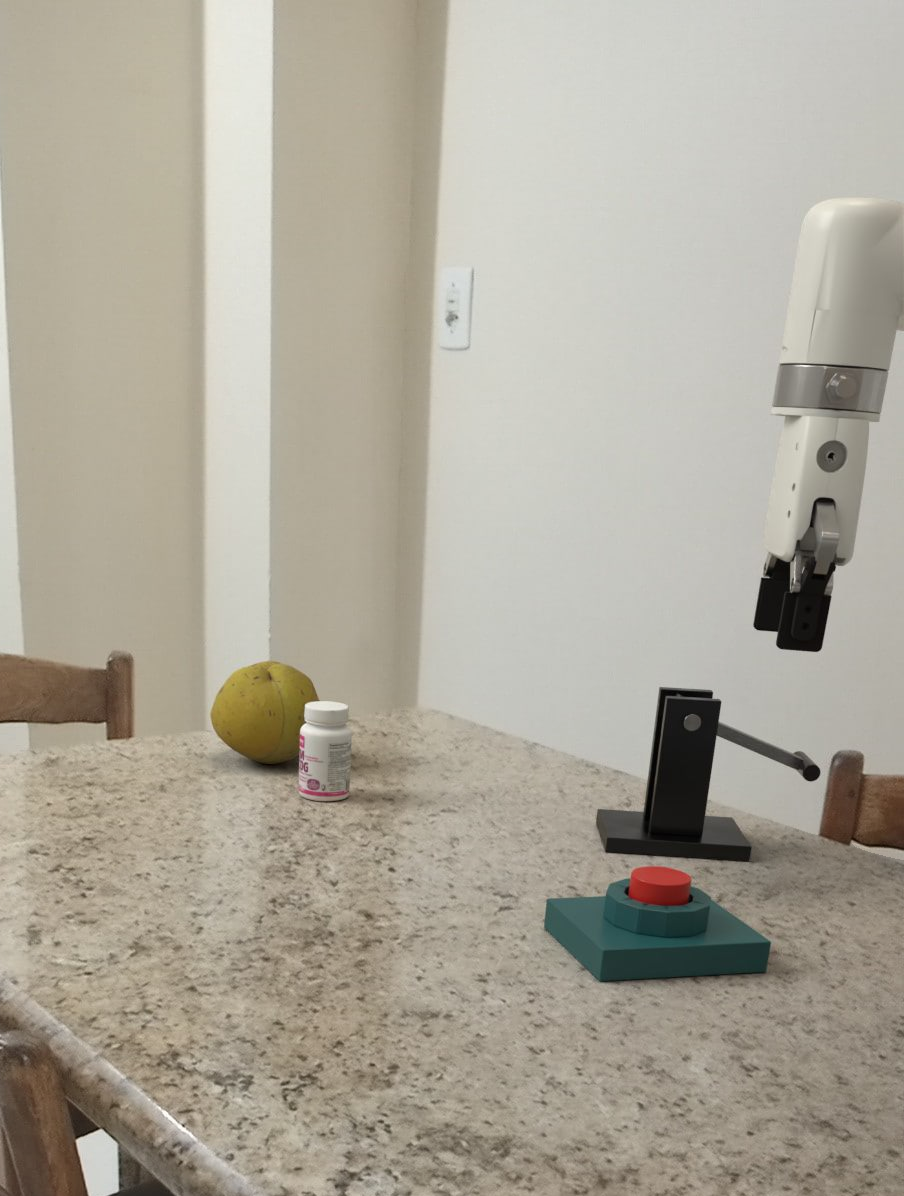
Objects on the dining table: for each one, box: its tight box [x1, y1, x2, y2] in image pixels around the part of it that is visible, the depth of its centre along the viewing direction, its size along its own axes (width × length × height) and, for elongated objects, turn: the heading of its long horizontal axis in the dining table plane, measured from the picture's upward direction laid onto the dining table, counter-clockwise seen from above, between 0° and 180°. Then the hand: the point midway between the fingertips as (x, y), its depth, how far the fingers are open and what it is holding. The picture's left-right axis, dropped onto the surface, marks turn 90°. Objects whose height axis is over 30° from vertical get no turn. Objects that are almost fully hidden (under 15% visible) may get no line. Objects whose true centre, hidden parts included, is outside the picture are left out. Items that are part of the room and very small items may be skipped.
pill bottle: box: [297, 700, 353, 802], centre depth 126 cm, size 5×5×8 cm
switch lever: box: [676, 694, 821, 782], centre depth 115 cm, size 13×5×2 cm, turn 86°
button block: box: [543, 877, 772, 982], centre depth 94 cm, size 12×10×4 cm
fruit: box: [210, 660, 320, 765], centre depth 137 cm, size 11×12×10 cm
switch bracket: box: [595, 686, 753, 862], centre depth 117 cm, size 12×9×13 cm
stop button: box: [628, 865, 692, 906], centre depth 93 cm, size 4×4×2 cm
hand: (785, 640), depth 104 cm, fingers open, 9 cm apart
